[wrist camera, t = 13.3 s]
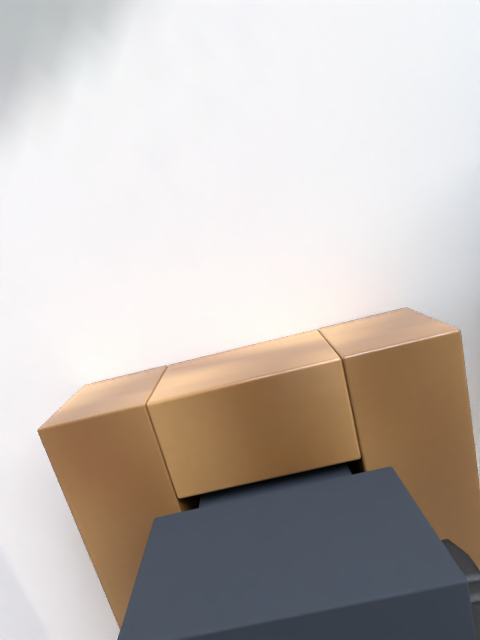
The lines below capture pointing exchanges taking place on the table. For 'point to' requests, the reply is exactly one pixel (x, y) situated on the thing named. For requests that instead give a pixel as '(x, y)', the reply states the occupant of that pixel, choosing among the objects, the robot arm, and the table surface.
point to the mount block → (269, 432)
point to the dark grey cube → (300, 565)
